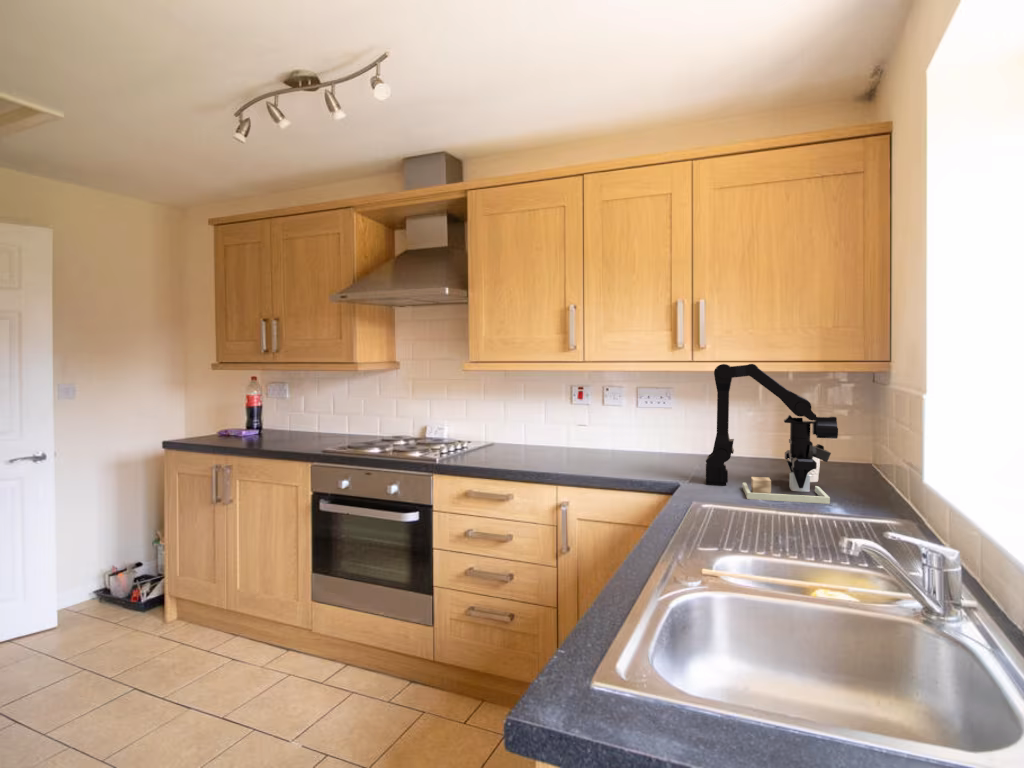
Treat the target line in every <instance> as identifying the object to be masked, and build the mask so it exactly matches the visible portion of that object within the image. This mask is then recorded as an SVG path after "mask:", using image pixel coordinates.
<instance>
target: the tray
mask: <svg viewBox="0 0 1024 768" xmlns="http://www.w3.org/2000/svg"><path fill="white" fill-rule="evenodd" d="M742 490H743V493H744V494H745V498H746V499H747V500H756V501H757V500H760V501H774V502H776V501H777V502H790V503H791V502H792V503H806V504H807V503H809V504H822V505H823V504H826V505H830V504H831V497H830V495H828V494H827V493H826V492H825V491H824V490H823V489H822V488H821V487H820V486H817V485H815V486H814V492H815V494H816V495H806V494H805V495H802V494H801V495H800V494H785V493H784V494H782V493H771V494H769V493H751V490H750V488H749V486H748V484H747V482H742Z"/></svg>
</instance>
